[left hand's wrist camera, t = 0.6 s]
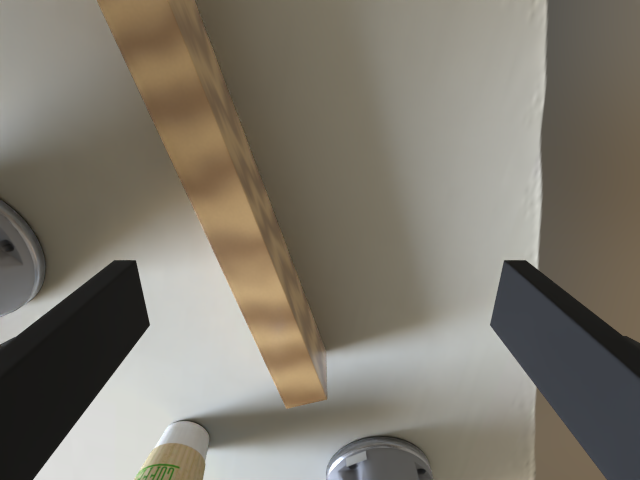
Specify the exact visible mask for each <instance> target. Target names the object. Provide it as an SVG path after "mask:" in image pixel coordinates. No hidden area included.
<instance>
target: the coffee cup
mask: <svg viewBox="0 0 640 480" xmlns="http://www.w3.org/2000/svg"><path fill="white" fill-rule="evenodd" d="M208 445H209V435H208V433H207V431H206V430H205V429H204V428H203V427H202V426H200V425H198V424H196V423H193V422H189V421H179V422H175V423H173V424H171V425H170V426H168V427H167V429H166V430H165V432H164V434H163V435H162V437H161V439H160V440H159V442H158V443H157V445H156V447H155V448H154V449H153V450H152V452H151V453H150V455H149V456H148V458H147V459H146V461H145V463H144V464H143V466H142V467H141V469H140V471H139V472H138V474H137V476H136V477H135V479H134V480H203V475H204V470H205V460H206V455H207V450H208Z"/></svg>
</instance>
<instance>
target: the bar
mask: <svg viewBox="0 0 640 480" xmlns="http://www.w3.org/2000/svg"><path fill="white" fill-rule="evenodd" d="M97 2H98V4H99V6H100V8H101V10H102V13H103V15H104V17H105V19H106V21H107V23H108V26H109V28H110V30H111V32H112V34H113V36H114V38H115V41H116V43H117V45H118V47H119V49H120V51H121V54H122V56H123V58H124V60H125V62H126V64H127V66H128V69H129V71H130V73H131V75H132V77H133V79H134V82H135V84H136V86H137V88H138V90H139V92H140V94H141V97H142V99H143V101H144V103H145V105H146V107H147V110H148V112H149V114H150V116H151V118H152V120H153V122H154V125H155V127H156V129H157V131H158V133H159V135H160V137H161V140H162V142H163V144H164V146H165V148H166V150H167V153H168V155H169V157H170V159H171V161H172V163H173V165H174V168H175V170H176V172H177V174H178V176H179V178H180V181H181V183H182V185H183V187H184V189H185V191H186V193H187V196H188V198H189V200H190V202H191V204H192V206H193V209H194V211H195V213H196V215H197V217H198V219H199V221H200V224H201V226H202V228H203V230H204V232H205V234H206V237H207V239H208V241H209V243H210V245H211V247H212V249H213V252H214V254H215V256H216V258H217V260H218V262H219V264H220V267H221V269H222V271H223V273H224V275H225V277H226V280H227V282H228V284H229V286H230V288H231V290H232V292H233V295H234V297H235V299H236V301H237V303H238V305H239V308H240V310H241V312H242V314H243V316H244V318H245V320H246V323H247V325H248V327H249V329H250V331H251V333H252V336H253V338H254V340H255V342H256V344H257V346H258V348H259V351H260V353H261V355H262V357H263V359H264V361H265V364H266V366H267V368H268V370H269V372H270V374H271V376H272V379H273V381H274V383H275V385H276V387H277V389H278V392H279V394H280V396H281V398H282V400H283V402H284V404H285V407H286V409H288V408H292V407H296V406H301V405H305V404H309V403H314V402H318V401H323V400H327V367H326V350H325V347H324V344H323V342H322V339H321V336H320V334H319V331H318V328H317V326H316V323H315V320H314V318H313V315H312V312H311V310H310V307H309V304H308V302H307V299H306V296H305V294H304V291H303V288H302V286H301V283H300V280H299V278H298V275H297V272H296V270H295V267H294V264H293V262H292V259H291V256H290V254H289V251H288V248H287V246H286V243H285V240H284V238H283V235H282V232H281V230H280V227H279V224H278V222H277V219H276V216H275V214H274V211H273V208H272V206H271V203H270V200H269V198H268V195H267V192H266V189H265V187H264V184H263V181H262V179H261V176H260V173H259V171H258V168H257V165H256V163H255V160H254V157H253V155H252V152H251V149H250V147H249V144H248V141H247V139H246V136H245V133H244V131H243V128H242V125H241V123H240V120H239V117H238V115H237V112H236V109H235V107H234V104H233V101H232V99H231V96H230V93H229V91H228V88H227V85H226V83H225V80H224V77H223V75H222V72H221V69H220V67H219V64H218V61H217V59H216V56H215V53H214V51H213V48H212V45H211V43H210V40H209V37H208V35H207V32H206V29H205V27H204V24H203V21H202V19H201V16H200V13H199V11H198V8H197V5H196V3H195V0H97Z"/></svg>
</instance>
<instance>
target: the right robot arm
mask: <svg viewBox="0 0 640 480" xmlns="http://www.w3.org/2000/svg"><path fill="white" fill-rule="evenodd" d="M44 278H45V259H44V254H43V251H42V248H41V246H40V243H39V241H38V239H37V237H36V236H35V234H34V232H33V231H32V229H31V228H30V227H29V225H28V224H27V223H26V222H25V220H24V219H23V218H22V217H21V216H20V215H19V214H18V213H17V212H16V211H15V210H14V209H12V208H11V207H10V206H9V205H7V204H6V203H5V202H3V201H2V200H0V317H2V316H4V315H7V314H9V313H11V312H13V311H15V310H17V309H19V308H20V307H21V306H23V305H24V304H26V303H27V302H28V301H30V300H31V299H32V298H33V297H34V296H36V294H37V293H38V292H39V290H40V288H41V287H42V284H43V281H44Z"/></svg>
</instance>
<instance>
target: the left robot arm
mask: <svg viewBox="0 0 640 480" xmlns="http://www.w3.org/2000/svg"><path fill="white" fill-rule="evenodd" d="M149 326H150V323H149V319H148V314H147V310H146V305H145V300H144V296H143V291H142V287H141V282H140V277H139V273H138V268H137V264H136V260H114V261H113V262H112V263H110V264H109V265H108V266H106V267H105V268H104V269H103V270H101V271H100V272H99V273H97V274H96V275H95V276H94V277H92V278H91V279H90V280H88V281H87V282H86V283H85V284H83V285H82V286H81V287H79V288H78V289H77V290H76V291H74V292H73V293H72V294H70V295H69V296H68V297H67V298H65V299H64V300H63V301H61V302H60V303H59V304H58V305H56V306H55V307H54V308H52V309H51V310H50V311H49V312H47V313H46V314H45V315H43V316H42V317H41V318H40V319H38V320H37V321H36V322H34V323H33V324H32V325H31V326H29V327H28V328H27V329H25V330H24V331H23V332H22V333H20V334H19V335H18V336H16V337H14V338H12V339H10V340H8V341H6V342H4V343H2V344H1V345H0V480H33V479H34V478H35V476H36V475H37V474H38V472H39V471H40V470H41V468H42V467H43V466H44V464H45V463H46V462H47V460H48V459H49V458H50V456H51V455H52V454H53V453H54V451H55V450H56V449H57V447H58V446H59V445H60V443H61V442H62V441H63V439H64V438H65V437H66V435H67V434H68V433H69V431H70V430H71V429H72V427H73V426H74V425H75V423H76V422H77V421H78V419H79V418H80V417H81V416H82V414H83V413H84V412H85V410H86V409H87V408H88V406H89V405H90V404H91V402H92V401H93V400H94V398H95V397H96V396H97V394H98V393H99V392H100V390H101V389H102V388H103V386H104V385H105V384H106V382H107V381H108V380H109V379H110V377H111V376H112V375H113V373H114V372H115V371H116V369H117V368H118V367H119V365H120V364H121V363H122V361H123V360H124V359H125V357H126V356H127V355H128V353H129V352H130V351H131V349H132V348H133V347H134V345H135V344H136V343H137V342H138V340H139V339H140V338H141V336H142V335H143V334H144V332H145V331H146V330H147V328H148V327H149ZM490 326H491V327H492V328H493V330H494V331H495V332H496V334H497V335H498V336H499V338H500V339H501V340H502V342H503V343H504V344H505V345H506V347H507V348H508V349H509V351H510V352H511V353H512V355H513V356H514V357H515V359H516V360H517V361H518V363H519V364H520V365H521V367H522V368H523V369H524V371H525V372H526V373H527V375H528V376H529V377H530V379H531V380H532V381H533V382H534V384H535V385H536V386H537V388H538V389H539V390H540V392H541V393H542V394H543V396H544V397H545V398H546V400H547V401H548V402H549V404H550V405H551V406H552V408H553V409H554V410H555V412H556V413H557V414H558V415H559V417H560V418H561V419H562V421H563V422H564V423H565V425H566V426H567V427H568V429H569V430H570V431H571V433H572V434H573V435H574V437H575V438H576V439H577V440H578V442H579V443H580V445H581V446H582V447H583V449H584V450H585V451H586V452H587V454H588V455H589V456H590V458H591V459H592V460H593V462H594V463H595V464H596V466H597V467H598V468H599V470H600V471H601V472H602V474H603V475H604V476H605V478H606V479H607V480H640V343H639V342H637V341H635V340H633V339H631V338H629V337H627V336H622V335H621V334H620V333H618V332H617V331H616V330H615V329H613V328H612V327H611V326H609V325H608V324H607V323H606V322H604V321H603V320H602V319H600V318H599V317H598V316H597V315H595V314H594V313H593V312H591V311H590V310H589V309H588V308H586V307H585V306H584V305H582V304H581V303H580V302H578V301H577V300H576V299H575V298H573V297H572V296H571V295H570V294H568V293H567V292H566V291H564V290H563V289H562V288H561V287H559V286H558V285H557V284H555V283H554V282H553V281H552V280H550V279H549V278H548V277H546V276H545V275H544V274H543V273H541V272H540V271H539V270H537V269H536V268H535V267H534V266H532V265H531V264H530V263H528V262H527V261H526V260H504V264H503V268H502V273H501V277H500V282H499V287H498V291H497V296H496V300H495V305H494V310H493V314H492V319H491V323H490ZM326 480H433V475H432V472H431V468H430V465H429V462H428V459H427V457H426V456H425V454H424V453H423V452H422V451H421V450H420V449H419V448H417V447H416V446H414V445H413V444H411V443H409V442H406V441H404V440H400V439H396V438H390V437H372V438H366V439H362V440H358V441H355V442H353V443H351V444H348V445H347V446H345V447H343V448H342V449H340V450H339V451H338V452H337V453H336V454H335V455H334V456H333V457H332V458H331V460H330V462H329V464H328V466H327V470H326Z"/></svg>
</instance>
